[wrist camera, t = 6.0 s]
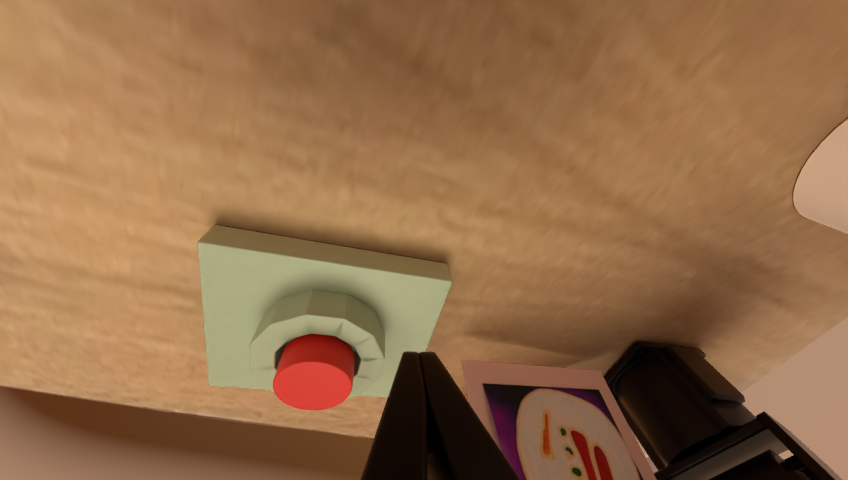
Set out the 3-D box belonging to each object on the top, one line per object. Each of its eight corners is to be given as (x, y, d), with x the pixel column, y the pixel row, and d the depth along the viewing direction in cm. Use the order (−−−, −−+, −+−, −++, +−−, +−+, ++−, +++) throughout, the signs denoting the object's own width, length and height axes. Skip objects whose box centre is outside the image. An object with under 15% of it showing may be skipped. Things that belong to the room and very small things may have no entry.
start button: (349, 382, 18) (346, 412, 16) (280, 377, 17) (270, 409, 15) (360, 336, 16) (358, 365, 14) (284, 328, 15) (273, 358, 14)
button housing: (406, 377, 23) (409, 426, 20) (221, 362, 20) (192, 416, 17) (447, 263, 18) (460, 304, 15) (214, 223, 15) (173, 265, 12)
